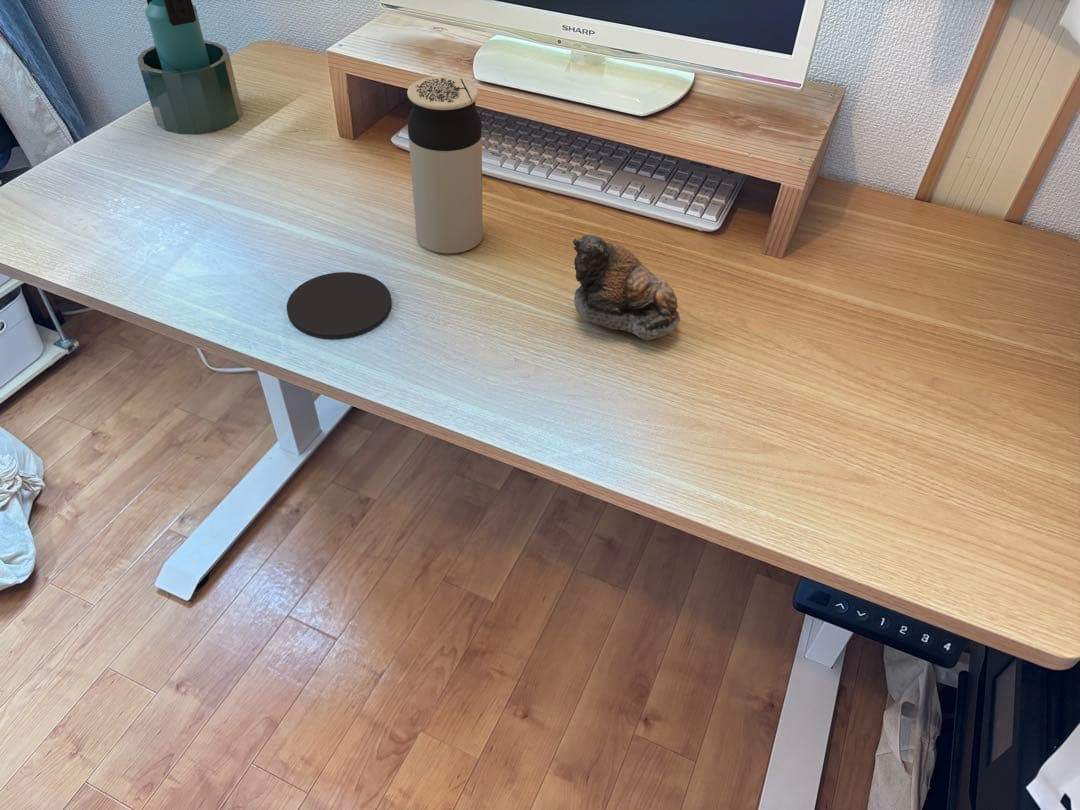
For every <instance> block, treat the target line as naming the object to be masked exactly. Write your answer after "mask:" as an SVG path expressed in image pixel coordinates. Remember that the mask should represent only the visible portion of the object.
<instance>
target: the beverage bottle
mask: <svg viewBox="0 0 1080 810" xmlns="http://www.w3.org/2000/svg"><path fill="white" fill-rule="evenodd" d="M192 5H193V9H194V13H195V17H196V21H195V22H192V23H187V24H182V25H177V26H173V25H171V24H170V22H169V19H168V15H167V11H166V8H165V4H164V1H163V0H152V1H151V2H150V4H149V5H148V4H147V7H146V8H145V11H144V12H145V13H144V14H145V17H146V18H147V21H148V26H149V28H150V32H151V35H152V39H153V43H154V45H155V46H156V49H157V50H156V51H157V54H158V56H159V59H160V63H161V66H162V69H163V71H188V70H196V69H200V68H203V67H207V66H210V61H211V60H210V61H209V58H208V54H207V50H206V47H205V43H204V40H205V39H204V36H203V35H204V34H203V32H202V27H201V23H200V19H199V15H198V9H197V7H196V5H194V4H193V3H192ZM158 56H157V57H158ZM211 65H212V64H211Z"/></svg>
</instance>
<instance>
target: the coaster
mask: <svg viewBox="0 0 1080 810" xmlns="http://www.w3.org/2000/svg"><path fill="white" fill-rule="evenodd" d="M392 302H393V301H392V295H391V292H390V290H389V289H388V287H387V286H386V285H385V284H384V283H383V282H382V281H380V280H378V279H377V278H375V277H373V276H371V275H367V274H364V273H361V272H360V273H359V272H353V271H339V272H337V271H336V272H331V273H325V274H321V275H318V276H314V277H313V278H310V279H308V280H306V281H304V282H303V283H302V284H300V285H299V286H298V287H297V288H295V289H294V290H293V292H291V294H290V296H289V297H288V299H287V303H286V314H287V317H288V319H289V322H290V324H292V326H293V327H294V328H295V329H297V330H298V331H300V332H301V333H303V334H304V335H307V336H310V337H314V338H317V339H324V340H342V339H349V338H355V337H358V336H360V335H361V336H362V335H364V334H367V333H368V332H370V331H372V330H374V329H376V328H378V327H379V326H380V325H381V324H383V323H384V321H385V320H386V319H387V318H388V316H389V314H390V313H391V309H392V304H393V303H392Z"/></svg>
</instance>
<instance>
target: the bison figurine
mask: <svg viewBox="0 0 1080 810" xmlns="http://www.w3.org/2000/svg"><path fill="white" fill-rule="evenodd" d="M572 243H573V246H574V248H573V249H574V251H575V252H576V256H575V258H574V262H573V263H574V270H575V279H576V281H577V282H578V283H579V284H580V285H579V287H577V288H576V289H575V291H574V296H573V303H574V307H575V311H576V312H577V314H578V315H579V316H580V317H581V318H582V319H583V320H585V321H587V322H589V323H592V324H595V325H597V326H598V325H599V326H600V327H601V326H602V327H605V328H609V329H611V330H619V331H624V332H628V333H631V334H632V335H635V336H637V337H638V338H640V339H641V340H643V341H652V340H655V339H658V338H662V337H664V336H666V335H669V334H670V333H672V332H673V331H675V330H677V328H678V327H679V324H680V321H681V317H680V313H679V311H677V310H678V306H679V305H678V298H677V296H676V293H675V291H674V289H673V287H671V285H669V283H668V281H667V280H665V279H663V278H662V277H660V276H657V275H656V274H654V273H653V272H652V271H651V270H649V268H648V267H647V266H645V265H644V264H643V263H642V262H641V261H640V260H639V258H638V257H636V255H634V253H633V252H631V251H630V250H628V249H627V248H626V247H624V246H622V245H620V244H619V243H616V242H612V241H609V242H606V241H605V240H604V239H603V238H602V237H600V236H598V235H593V234H586V235H583V236H582V237H580V238H579V239H577V238H576V237H574V238H573V239H572Z"/></svg>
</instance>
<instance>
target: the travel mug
mask: <svg viewBox="0 0 1080 810" xmlns="http://www.w3.org/2000/svg"><path fill="white" fill-rule="evenodd" d="M406 93H407V94H406V95H407V98H408V99H409V100H410V103H411V110H410V112H409V115H408V116H407V119H406V120H407V121H406V123H407V135H408V148H409V149H408V150H409V160H410V175H411V186H412V187H411V188H412V197H413V210H414V211H413V212H414V220H415V221H414V223H415V236H416V240H417V241H418V243H419V244H420V245H421V246H422V247H424V249H427V250H429V251H431V252H435V253H439V254H458V253H463V252H467V251H469V250H471V249H474V248H475V247H477V246H478V245H479V244H480V243H481V241H482V240H483V237H484V229H483V227H484V223H483V222H484V221H483V216H484V215H483V213H484V211H483V138H482V136H483V134H482V132H483V130H482V129H483V128H482V124H483V123H482V117H481V115H480V113H479V111H478V110H477V108H476V102H477V99H478V98H479V96H480V91H479V88H478V86H477V85H475V84H474V83H473V82H471V81H469V80H467V79H465V78H460V77H456V76H450V75H449V76H447V75H439V76H438V75H437V76H430V77H425V78H421V79H419V80H416V81H414V82H413V83H412V84H410V85H409V87H407V90H406Z"/></svg>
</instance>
